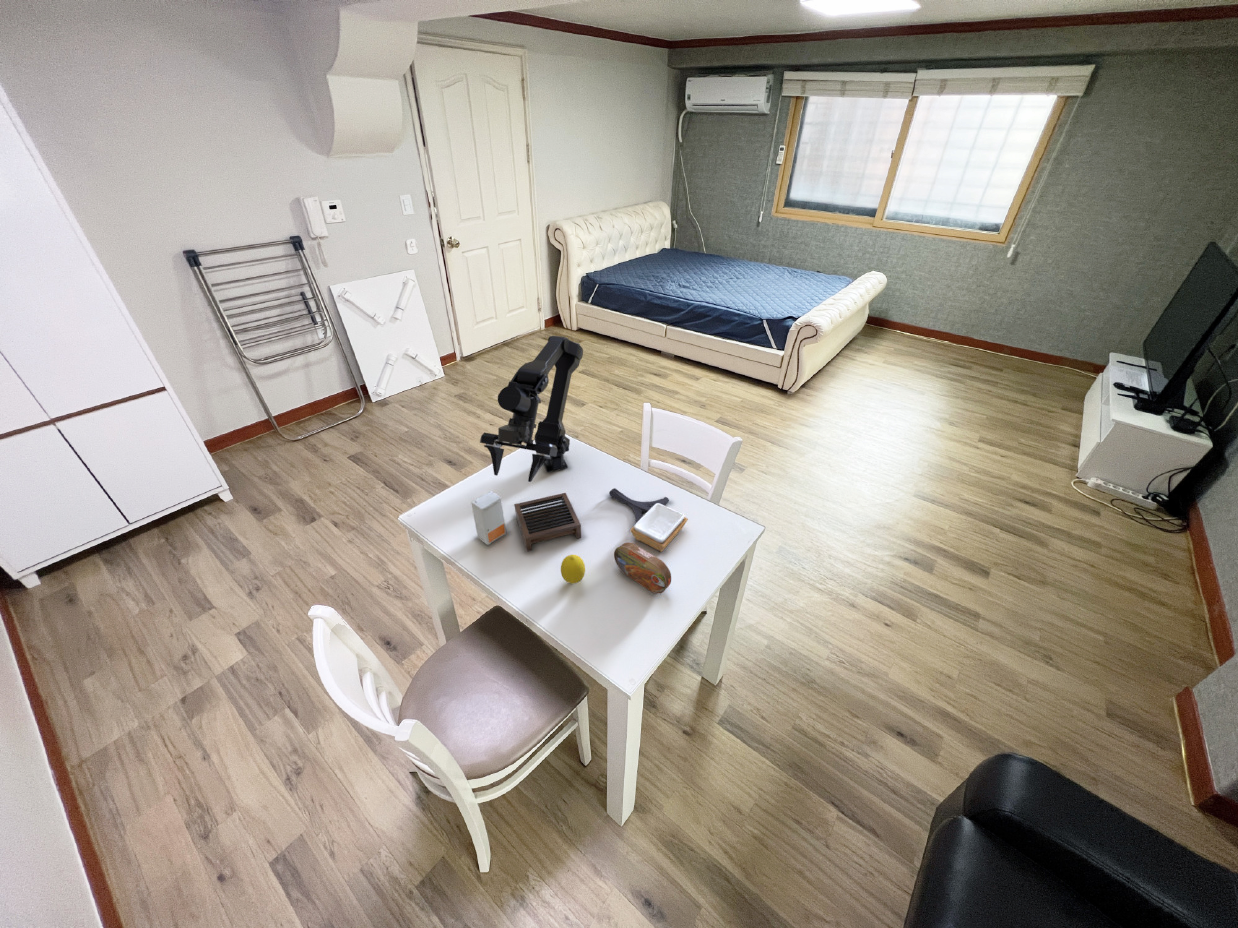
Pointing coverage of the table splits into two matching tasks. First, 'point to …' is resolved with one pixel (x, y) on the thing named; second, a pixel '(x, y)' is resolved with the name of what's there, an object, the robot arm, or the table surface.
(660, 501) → the bracket
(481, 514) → the cosmetic box
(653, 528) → the soap dish
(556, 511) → the shoe rack
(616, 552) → the tin
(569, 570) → the lemon
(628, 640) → the table surface
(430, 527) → the table surface
